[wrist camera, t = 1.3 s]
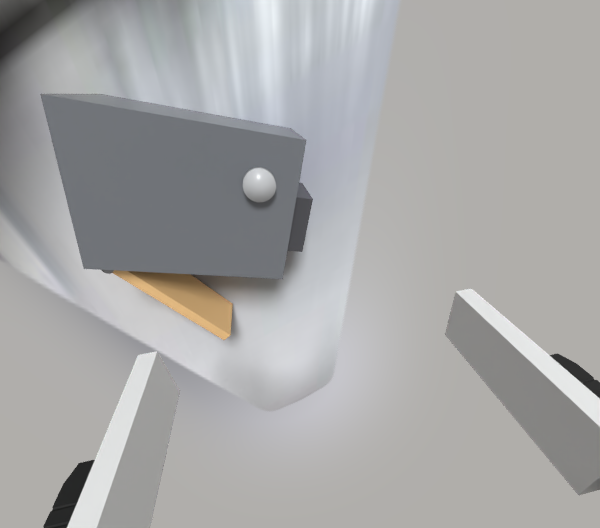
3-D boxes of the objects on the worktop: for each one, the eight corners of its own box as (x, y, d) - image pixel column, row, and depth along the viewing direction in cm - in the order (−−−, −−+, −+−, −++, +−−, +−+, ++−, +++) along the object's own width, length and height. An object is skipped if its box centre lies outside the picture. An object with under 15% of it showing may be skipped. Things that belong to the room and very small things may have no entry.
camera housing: (121, 227, 29) (78, 274, 21) (101, 94, 23) (31, 93, 15) (288, 241, 33) (300, 284, 25) (307, 131, 27) (330, 145, 19)
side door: (125, 236, 29) (98, 268, 24) (131, 230, 29) (105, 261, 23) (227, 306, 36) (223, 343, 30) (232, 301, 36) (230, 338, 30)
